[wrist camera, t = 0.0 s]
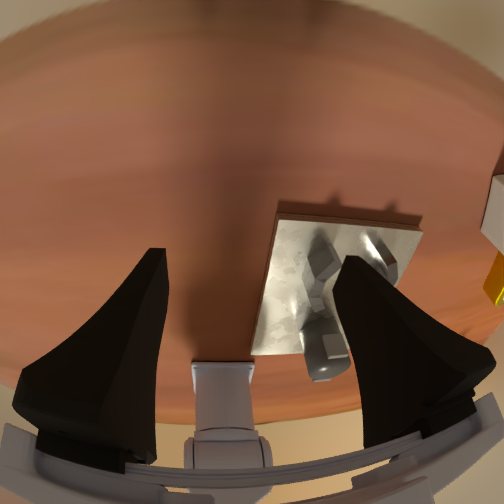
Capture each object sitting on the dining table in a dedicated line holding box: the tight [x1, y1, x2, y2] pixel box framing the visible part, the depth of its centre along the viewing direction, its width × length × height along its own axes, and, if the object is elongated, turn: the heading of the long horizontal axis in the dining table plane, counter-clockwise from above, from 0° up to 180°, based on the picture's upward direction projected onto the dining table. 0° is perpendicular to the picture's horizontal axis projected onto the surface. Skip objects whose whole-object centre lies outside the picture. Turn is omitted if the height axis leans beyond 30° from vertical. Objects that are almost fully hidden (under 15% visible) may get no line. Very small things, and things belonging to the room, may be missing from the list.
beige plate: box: [250, 213, 424, 355], centre depth 26 cm, size 18×14×4 cm
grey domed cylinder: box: [299, 318, 351, 382], centre depth 28 cm, size 5×4×5 cm
